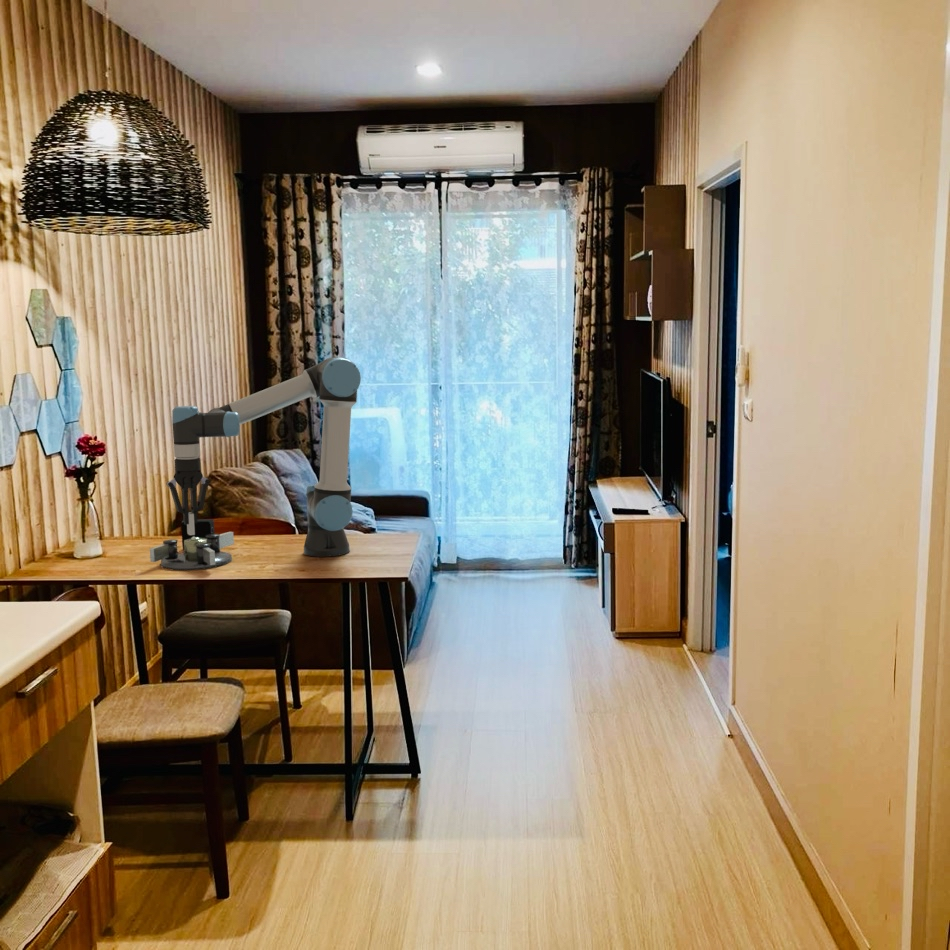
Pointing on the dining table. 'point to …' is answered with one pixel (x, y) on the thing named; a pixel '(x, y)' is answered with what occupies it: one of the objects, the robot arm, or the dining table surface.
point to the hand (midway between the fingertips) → (191, 534)
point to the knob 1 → (164, 551)
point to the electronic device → (198, 529)
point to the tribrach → (194, 557)
